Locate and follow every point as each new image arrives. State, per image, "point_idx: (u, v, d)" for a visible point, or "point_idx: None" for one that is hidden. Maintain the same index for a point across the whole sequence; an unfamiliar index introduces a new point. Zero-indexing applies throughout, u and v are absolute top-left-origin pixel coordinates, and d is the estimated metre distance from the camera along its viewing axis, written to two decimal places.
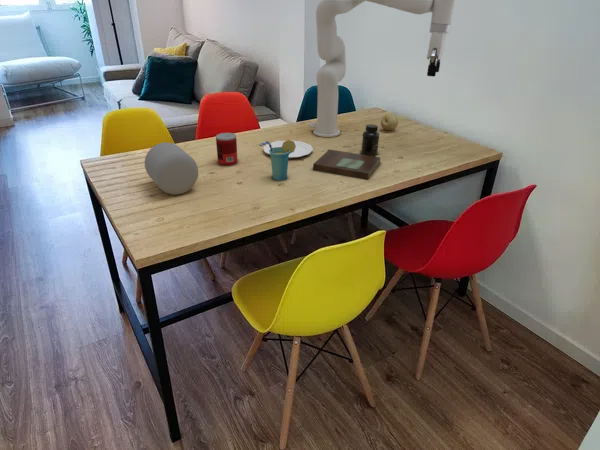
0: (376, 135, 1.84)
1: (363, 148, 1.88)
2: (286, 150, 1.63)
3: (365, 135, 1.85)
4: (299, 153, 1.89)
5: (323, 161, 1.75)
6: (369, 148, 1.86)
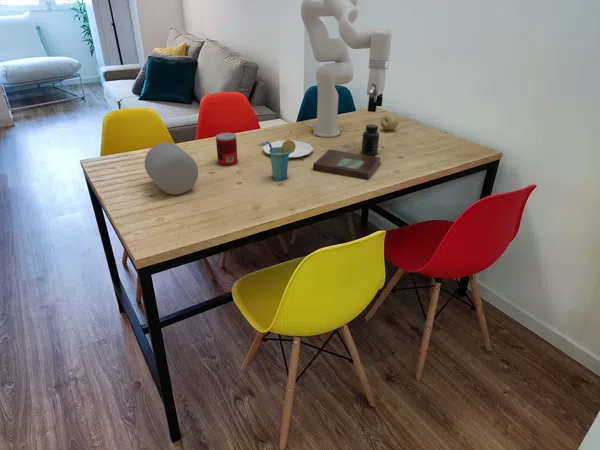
0: (376, 135, 1.84)
1: (363, 148, 1.88)
2: (286, 150, 1.63)
3: (365, 135, 1.85)
4: (299, 153, 1.89)
5: (323, 161, 1.75)
6: (369, 148, 1.86)
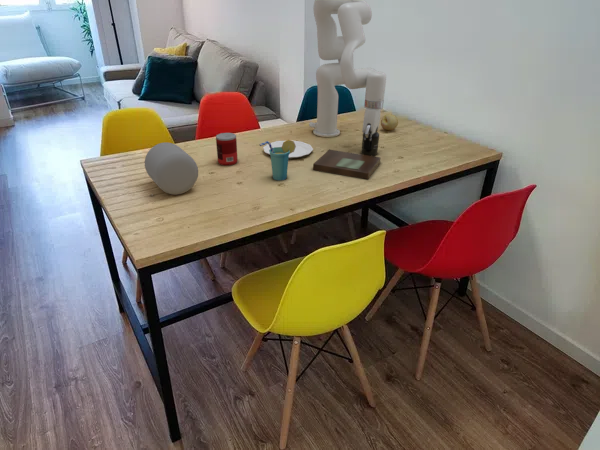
0: (376, 135, 1.84)
1: (363, 148, 1.88)
2: (286, 150, 1.63)
3: None
4: (299, 153, 1.89)
5: (323, 161, 1.75)
6: None
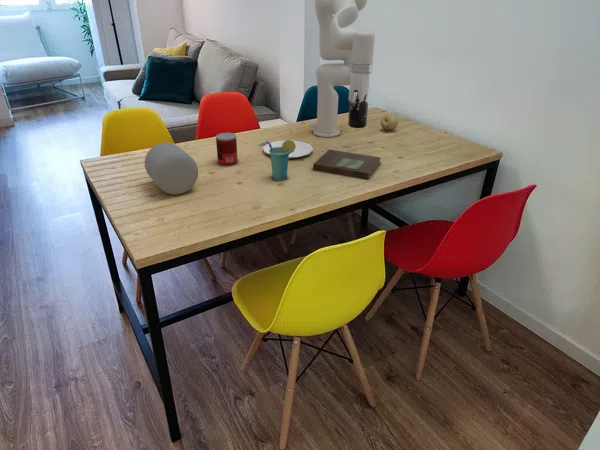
0: (364, 104, 1.63)
1: None
2: (286, 150, 1.63)
3: None
4: (299, 153, 1.89)
5: (323, 161, 1.75)
6: None
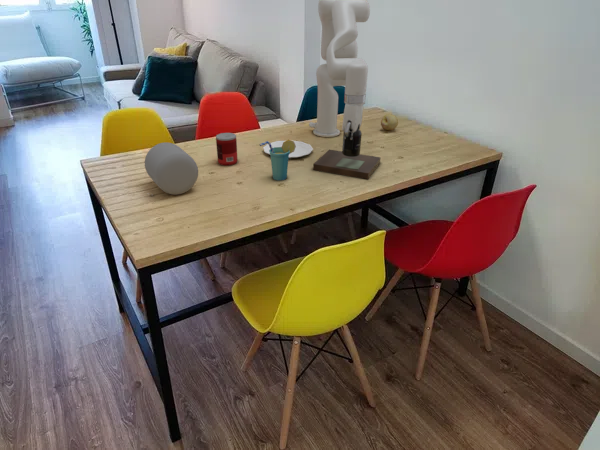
0: (358, 134, 1.65)
1: None
2: (286, 150, 1.63)
3: None
4: (299, 153, 1.89)
5: (323, 161, 1.75)
6: None
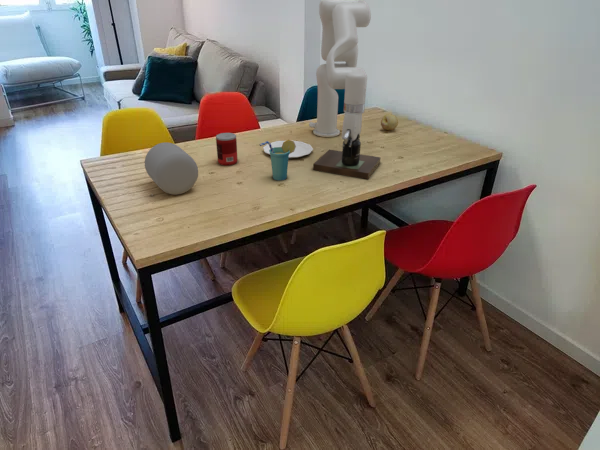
0: (357, 143, 1.67)
1: (343, 158, 1.70)
2: (286, 150, 1.63)
3: None
4: (299, 153, 1.89)
5: (323, 161, 1.75)
6: (350, 157, 1.69)
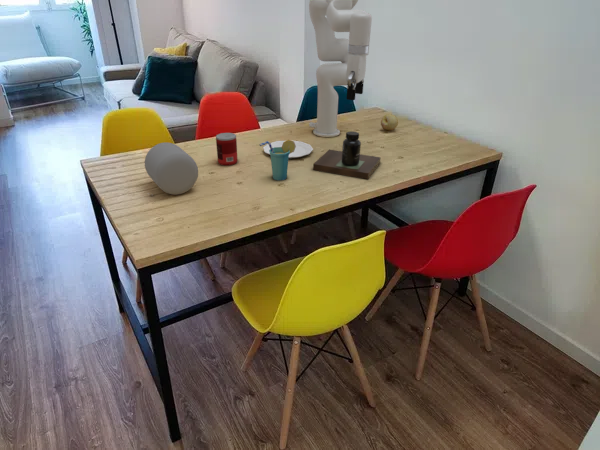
0: (357, 143, 1.67)
1: (343, 158, 1.70)
2: (286, 150, 1.63)
3: (345, 143, 1.67)
4: (299, 153, 1.89)
5: (323, 161, 1.75)
6: (350, 157, 1.69)
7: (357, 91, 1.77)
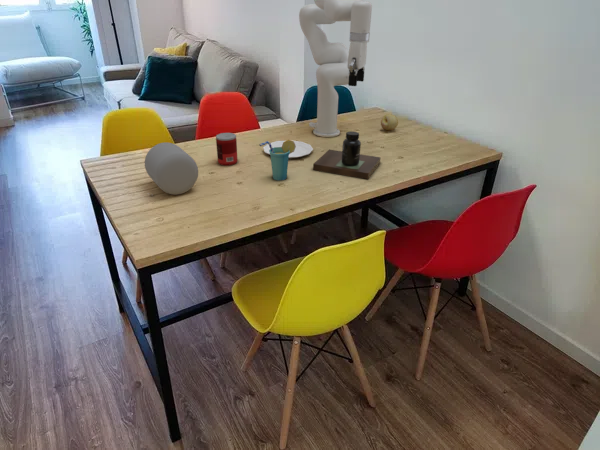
0: (357, 143, 1.67)
1: (343, 158, 1.70)
2: (286, 150, 1.63)
3: (345, 143, 1.67)
4: (299, 153, 1.89)
5: (323, 161, 1.75)
6: (350, 157, 1.69)
7: (358, 78, 1.83)
